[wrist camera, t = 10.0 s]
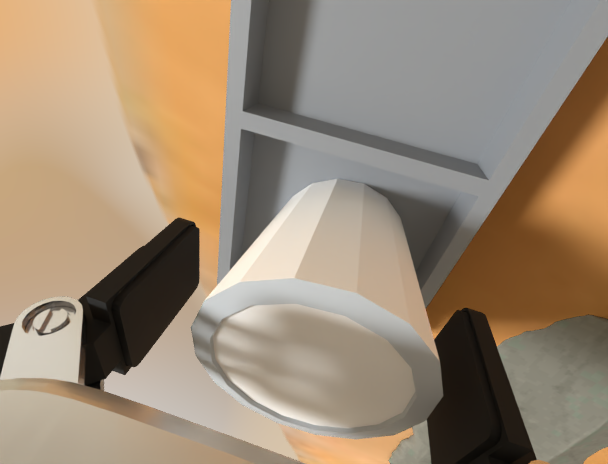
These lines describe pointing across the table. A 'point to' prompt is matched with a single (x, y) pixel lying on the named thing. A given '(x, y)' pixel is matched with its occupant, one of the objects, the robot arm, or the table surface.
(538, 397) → the stone slab
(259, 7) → the tray
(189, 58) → the table surface
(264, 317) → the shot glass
